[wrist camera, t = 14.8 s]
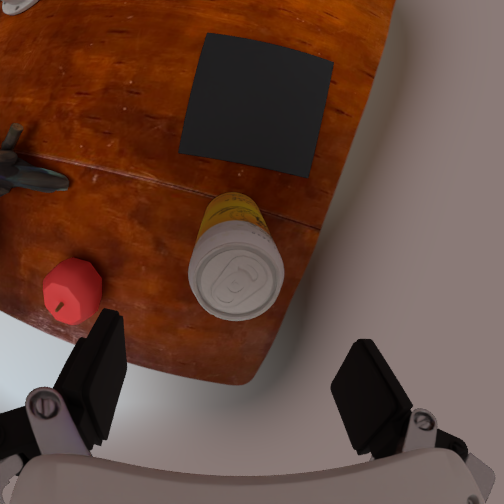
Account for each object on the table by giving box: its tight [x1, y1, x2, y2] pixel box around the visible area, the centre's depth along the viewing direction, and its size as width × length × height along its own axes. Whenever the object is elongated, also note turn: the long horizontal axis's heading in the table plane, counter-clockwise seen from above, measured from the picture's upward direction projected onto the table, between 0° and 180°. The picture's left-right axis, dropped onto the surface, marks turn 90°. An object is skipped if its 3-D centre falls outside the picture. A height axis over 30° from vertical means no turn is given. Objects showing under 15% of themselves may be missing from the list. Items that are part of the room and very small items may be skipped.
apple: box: [43, 257, 102, 325], centre depth 28 cm, size 8×8×8 cm
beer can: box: [188, 192, 284, 321], centre depth 23 cm, size 6×6×15 cm
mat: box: [178, 33, 334, 178], centre depth 26 cm, size 14×14×1 cm
